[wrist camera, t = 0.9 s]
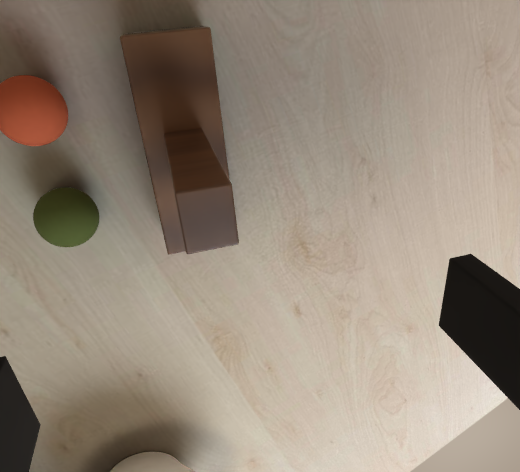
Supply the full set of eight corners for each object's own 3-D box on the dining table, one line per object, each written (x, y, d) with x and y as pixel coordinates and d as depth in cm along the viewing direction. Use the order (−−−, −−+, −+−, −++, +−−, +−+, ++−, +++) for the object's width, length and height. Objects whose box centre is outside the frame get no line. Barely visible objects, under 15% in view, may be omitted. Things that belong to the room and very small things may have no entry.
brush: (122, 33, 26) (106, 49, 14) (202, 25, 27) (249, 34, 15) (165, 232, 32) (179, 353, 21) (228, 221, 33) (274, 330, 22)
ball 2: (31, 184, 28) (16, 207, 25) (92, 174, 29) (86, 195, 26) (51, 235, 30) (39, 263, 27) (107, 225, 31) (103, 251, 28)
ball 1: (-9, 75, 25) (-33, 85, 22) (61, 67, 26) (49, 75, 22) (15, 140, 27) (-3, 159, 24) (80, 131, 28) (71, 148, 24)
